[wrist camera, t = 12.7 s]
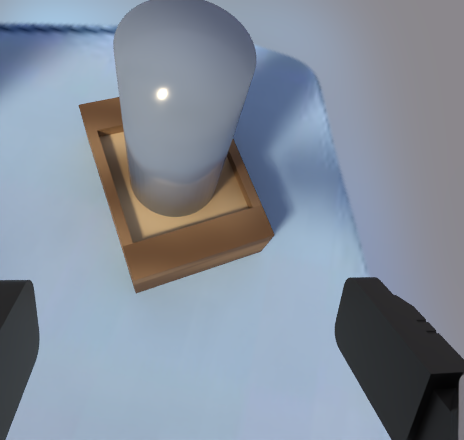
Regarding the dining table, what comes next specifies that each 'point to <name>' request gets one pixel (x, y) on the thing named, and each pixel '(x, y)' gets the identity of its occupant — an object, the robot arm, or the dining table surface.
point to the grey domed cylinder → (180, 98)
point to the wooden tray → (173, 228)
